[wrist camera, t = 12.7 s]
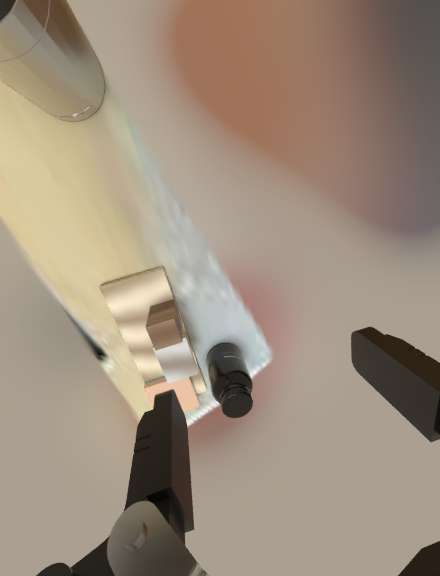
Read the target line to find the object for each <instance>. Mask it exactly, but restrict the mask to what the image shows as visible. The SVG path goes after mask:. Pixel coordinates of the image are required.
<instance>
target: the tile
mask: <svg viewBox="0 0 440 576" xmlns="http://www.w3.org/2000/svg"><path fill="white" fill-rule="evenodd" d="M171 389H174V391H175V393H176V395H177V398H178V400H179V403H180V405H181V408H182V410H183V412H184V411H187V410H190V409H193V408H196V407H199V406H200V403H199V398H198V396H197V393H196V390H195V388H194V385H193V383H192V380H191V377H187V378H184V379H181V380H178V381H175V382H172V383H169V384H168V382H167V380H166V378H165V376H163V377H160V378H157V379H154V380H151V381H148V382H145V385H144V390H145V392H146V394H147V396H148V398H149V400H150V402H151V404H152V406H153V407H154V397H155V395H156V394H159V393H162V392H165V391H168V390H171Z"/></svg>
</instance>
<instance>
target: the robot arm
mask: <svg viewBox="0 0 440 576" xmlns="http://www.w3.org/2000/svg"><path fill="white" fill-rule="evenodd" d="M0 81H2V82H3V83H5V84H6V85H8V86H9V87H11V88H12V89H13V90H15V91H16V92H18V93H19V94H21V95H22V96H24V97H25V98H26V99H28V100H29V101H31V102H32V103H34V104H35V105H36V106H38V107H39V108H41V109H42V110H44V111H45V112H47V113H48V114H50V115H52V116H54V117H55V118H58V119H61V120H64V121H72V122H74V121H81V120H84V119H87V118H89V117H90V116H92V115H93V114H94V113H95V112H96V111H97V110H98V108H99V107H100V105H101V103H102V100H103V96H104V91H105V81H104V76H103V71H102V68H101V65H100V62H99V60H98V58H97V57H96V55H95V53H94V51H93V49H92V47H91V45H90V44H89V42H88V40H87V38H86V36H85V34H84V32H83V30H82V28H81V26H80V25H79V23H78V21H77V19H76V17H75V15H74V14H73V12H72V10H71V8H70V6H69V4H68V3H67V1H66V0H0ZM351 349H352V363H353V366H354V367H355V369H356V371H357V372H358V373H359V374H360V375H361V376H362V377H363V378H364V379H365V380H366V381H367V382H368V383H369V384H371V386H373V387H374V388H375V389H376V390H377V391H378V392H379V393H380V394H381V395H382V396H383V397H384V398H385V399H386V400H387V401H388V402H389V403H390V404H392V406H394V407H395V408H396V409H397V410H398V411H399V412H400V413H401V414H402V415H403V416H404V417H405V418H406V419H407V420H408V421H409V422H410V423H411V424H412V425H413V426H415V427H416V428H417V429H418V430H419V431H420V432H421V433H422V434H423V435H424V436H425V437H426V438H427V439H428V440H429V441H430V442H433V441H436V440H438V439H440V363H439V362H437V361H436V360H434V359H433V358H431V357H429V356H426V355H425V353H423V352H421V351H420V350H418V349H415V347H413V346H412V345H410V344H409V343H407V342H405V341H404V340H402V339H399V338H397V337H394V336H391V335H388V334H386V335H384V334H382V333H381V332H379V331H378V330H376V329H375V328H372V327H367V328H364V329H361V330H357V331H355V332H353V333H352V335H351ZM191 530H194V520H193V505H192V489H191V474H190V459H189V445H188V429H187V423H186V418H185V415H184V412H183V410H182V408H181V405H180V403H179V400H178V398H177V395H176V393H175V391H174V389H171V390H168V391H165V392H162V393H159V394H156V395H155V397H154V407H153V410H151V411H148V412H145V413H144V415H143V417H142V418H141V420H140V422H139V424H138V427H137V434H136V442H135V447H134V455H133V461H132V468H131V474H130V481H129V487H128V494H127V500H126V505H125V509H124V512H123V513H122V514H121V516H120V517H119V518H118V520H117V521H116V523H115V525H114V527H113V529H112V531H111V534H110V536H109V537H108V538H107V539H106V540H105V541H104V542H103V543H102V544H100V545H99V546H98V547H97V548H96V549H94V550H93V551H92V552H90V553H89V554H88V555H87V556H85V557H84V558H83V559H82V560H80V561H79V562H77V563H76V564H75V565H74V566H72V567H71V568H70V567H69V566H67V565H66V564H64V563H56V564H52V565H50V566H48V567H47V568H45V569H44V570H42V571H41V572H40V573H39V574H38V575H37V576H209V575H208V574H207V573H206V572H205V571H204V570H203V569H202V568H201V567H200V565H199V564H198V563H197V561H196V560H195V559H194V557H193V556H192V554H191V553H190V552H189V550H188V549H187V548H186V547H185V533H186V532H188V531H191ZM398 576H440V541H439V542H436V543H434V544H432V545H429V546H427V547H424V548H422V549H421V550H420V551H419V552H418V553H417V554H416V556H415V557H414V558H413V559H412V561H410V563H409V564H408V565H407V566H406V567H405V568H404V570H403V571H402V572H401V573H400V574H399V575H398Z"/></svg>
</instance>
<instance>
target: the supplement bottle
mask: <svg viewBox="0 0 440 576" xmlns="http://www.w3.org/2000/svg"><path fill="white" fill-rule="evenodd" d="M207 367H208V373H209V379H210V385H211V391H212V395H213V397H214V398H215V400H216V401H217V402H219V403H220V405H221V408H222V411H223V413H224V414H225V415H226V416H228V417H231V418H239V417H242V416H244V415H246V414H247V413H248V412H249V411H250V410H251V409H252V406H253V405H252V404H253V400H252V398H251V392H252V386H253V384H252V380H251V377H250V375H249V372H248V370H247V367H246V365H245V362H244V360H243V357H242V355H241V353H240V351H239V349H238V348H237V347H236V346H234V345H232V344H220V345H217V346H215V347H214V348H213V349H211V351H210V352H209V354H208V356H207Z"/></svg>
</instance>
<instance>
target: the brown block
mask: <svg viewBox="0 0 440 576" xmlns="http://www.w3.org/2000/svg"><path fill="white" fill-rule="evenodd" d="M145 328H146V330H147V332H148V335H149V337H150V339H151V342H152V344H153V350H154V352H155V354H156V357H157V359H158V361H159V364H160V366H161V368H162V371H163V373H164V375H165V378H166V380H167V382H168V384H169V383H172V382H175V381H178V380H181V379H184V378H187V377H190V376H193V375H196V374H199V372H198V368H197V365H196V362H195V360H194V357H193V354H192V351H191V349H190V346H189V343H188V340H187V337H186V335H183V336H182V322H181V317H180V315H179V312H178V309H177V306H176V303H175V301H174V299H173V300H170V301H166V302H163V303H160V304H156V305H153V306H150V310H149V314H148V318H147V323H146V327H145Z"/></svg>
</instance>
